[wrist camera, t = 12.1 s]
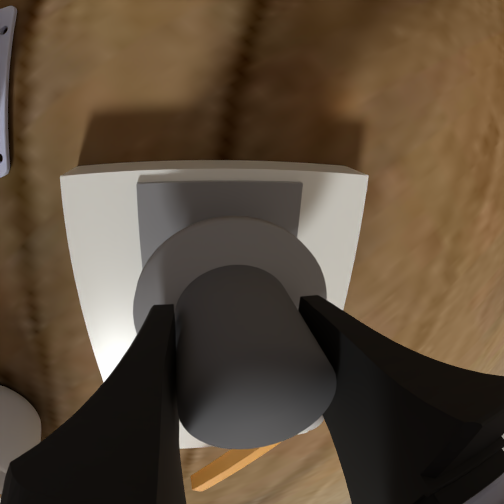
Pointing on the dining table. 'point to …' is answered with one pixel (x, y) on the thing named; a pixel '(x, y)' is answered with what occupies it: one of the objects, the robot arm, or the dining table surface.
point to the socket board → (190, 212)
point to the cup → (16, 428)
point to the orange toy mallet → (231, 464)
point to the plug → (240, 330)
